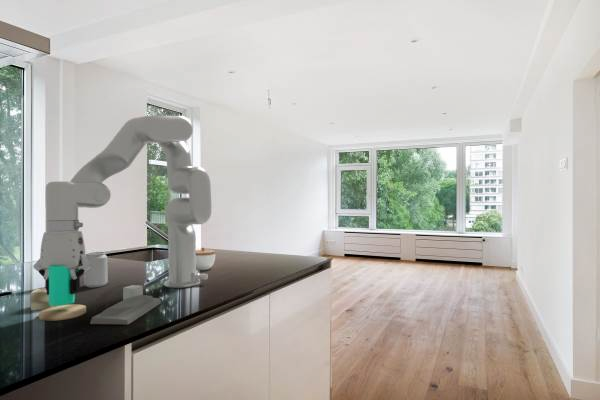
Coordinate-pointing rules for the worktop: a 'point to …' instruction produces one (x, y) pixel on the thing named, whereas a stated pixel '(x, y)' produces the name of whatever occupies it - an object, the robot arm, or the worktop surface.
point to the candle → (60, 286)
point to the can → (96, 270)
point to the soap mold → (126, 310)
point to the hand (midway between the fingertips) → (63, 292)
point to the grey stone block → (132, 291)
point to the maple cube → (40, 299)
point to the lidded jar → (204, 259)
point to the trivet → (62, 312)
